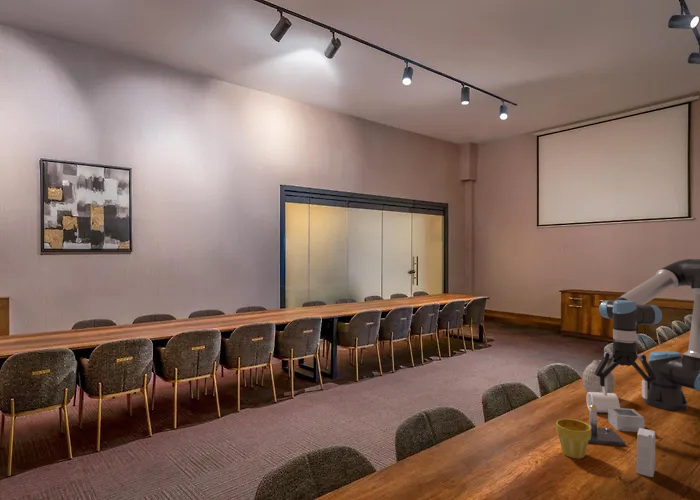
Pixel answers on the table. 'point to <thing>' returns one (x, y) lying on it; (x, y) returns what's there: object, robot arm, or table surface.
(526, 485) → the table surface
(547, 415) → the table surface
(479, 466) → the table surface
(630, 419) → the link
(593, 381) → the vase
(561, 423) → the plant pot
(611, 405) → the mug
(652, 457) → the skincare box
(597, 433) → the keeper
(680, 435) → the table surface
